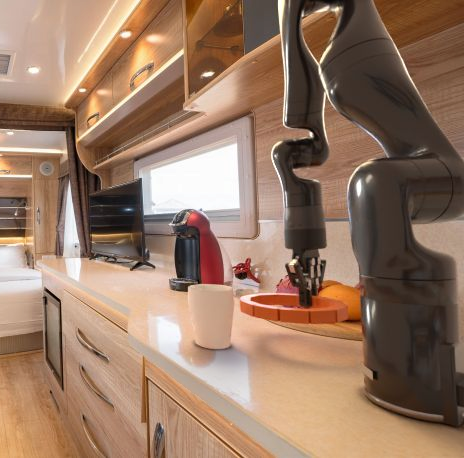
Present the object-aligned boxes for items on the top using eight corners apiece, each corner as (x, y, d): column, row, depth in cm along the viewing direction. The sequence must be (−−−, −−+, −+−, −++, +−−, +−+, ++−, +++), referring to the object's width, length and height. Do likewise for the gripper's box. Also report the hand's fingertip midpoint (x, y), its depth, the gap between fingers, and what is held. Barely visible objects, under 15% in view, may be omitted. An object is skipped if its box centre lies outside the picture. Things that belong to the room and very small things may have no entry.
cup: (226, 336, 74) (223, 283, 74) (244, 351, 65) (241, 290, 65) (184, 337, 75) (182, 284, 75) (196, 352, 66) (194, 292, 66)
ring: (363, 313, 66) (362, 301, 66) (320, 329, 56) (319, 315, 57) (268, 300, 81) (268, 290, 81) (223, 311, 72) (222, 300, 72)
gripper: (308, 227, 66) (313, 313, 66) (338, 225, 73) (343, 304, 73) (269, 228, 73) (273, 307, 73) (300, 227, 80) (305, 299, 80)
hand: (308, 305), depth 73 cm, fingers closed on ring, 2 cm apart
